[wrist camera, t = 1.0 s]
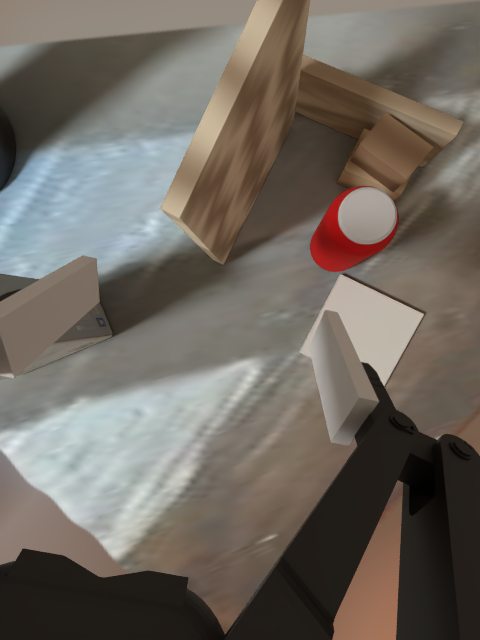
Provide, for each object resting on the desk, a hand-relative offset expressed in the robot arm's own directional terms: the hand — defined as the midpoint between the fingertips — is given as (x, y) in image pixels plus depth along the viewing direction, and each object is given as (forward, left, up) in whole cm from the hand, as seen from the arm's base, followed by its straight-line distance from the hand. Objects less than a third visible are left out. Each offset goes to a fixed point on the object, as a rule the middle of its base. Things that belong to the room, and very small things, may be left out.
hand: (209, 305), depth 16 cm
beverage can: (+2, +14, -20) cm, 25 cm away
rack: (-3, +15, -20) cm, 26 cm away
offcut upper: (-1, +23, -17) cm, 29 cm away
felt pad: (+12, +9, -20) cm, 25 cm away
